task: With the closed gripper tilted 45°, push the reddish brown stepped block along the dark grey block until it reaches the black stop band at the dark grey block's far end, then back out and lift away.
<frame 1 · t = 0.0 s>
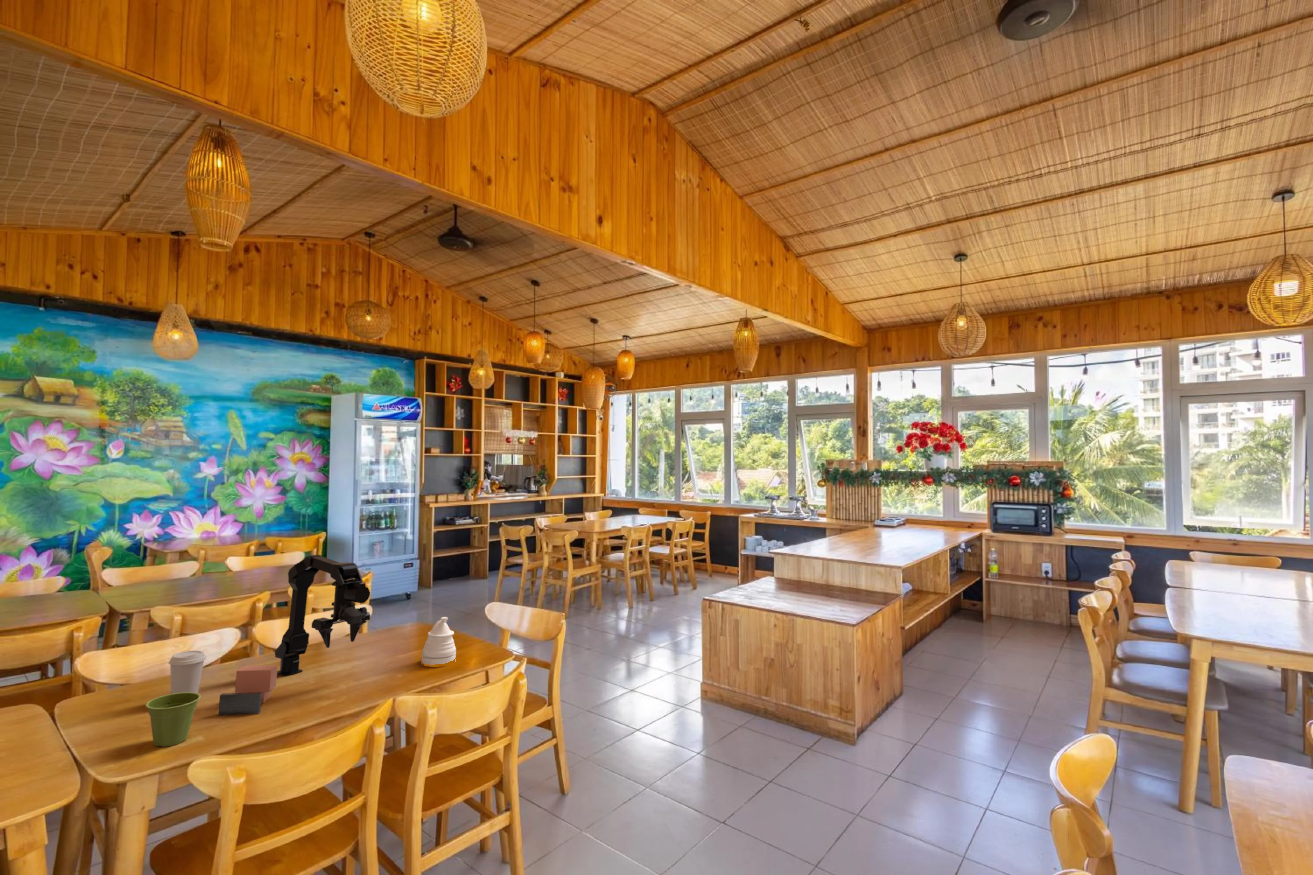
hand: (340, 644, 209), 15 cm above the table, tool pointing down, fingers open, 9 cm apart
reddish brown stepped block: (256, 683, 194), point 5 cm above the table, slide at 0.0 cm
plant pot: (170, 742, 164), on the table
honey pot: (438, 662, 240), on the table
dark grey block: (248, 706, 189), on the table
coffee cup: (183, 702, 191), on the table
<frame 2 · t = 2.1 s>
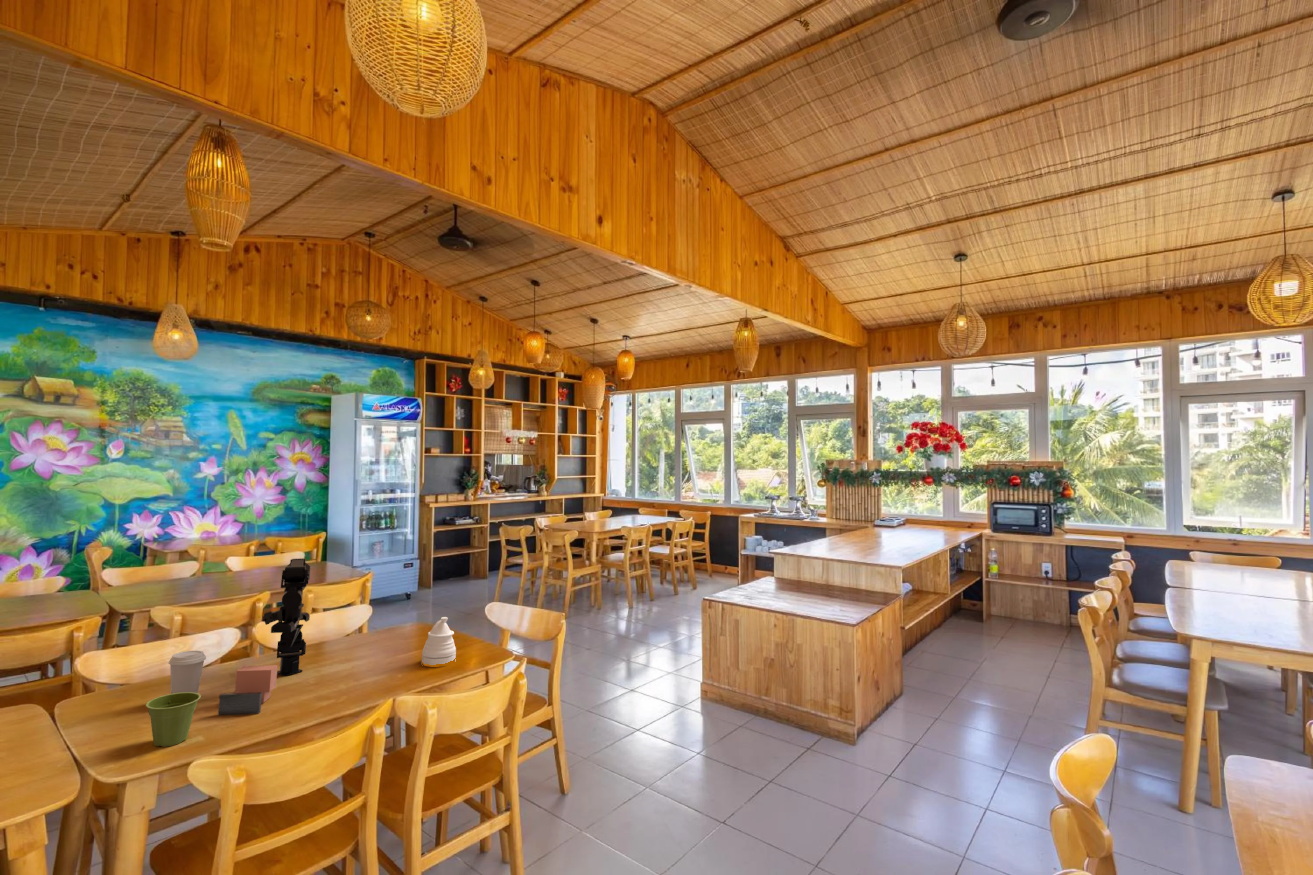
hand: (289, 647, 210), 13 cm above the table, tool pointing down, fingers closed
nothing on the table moved.
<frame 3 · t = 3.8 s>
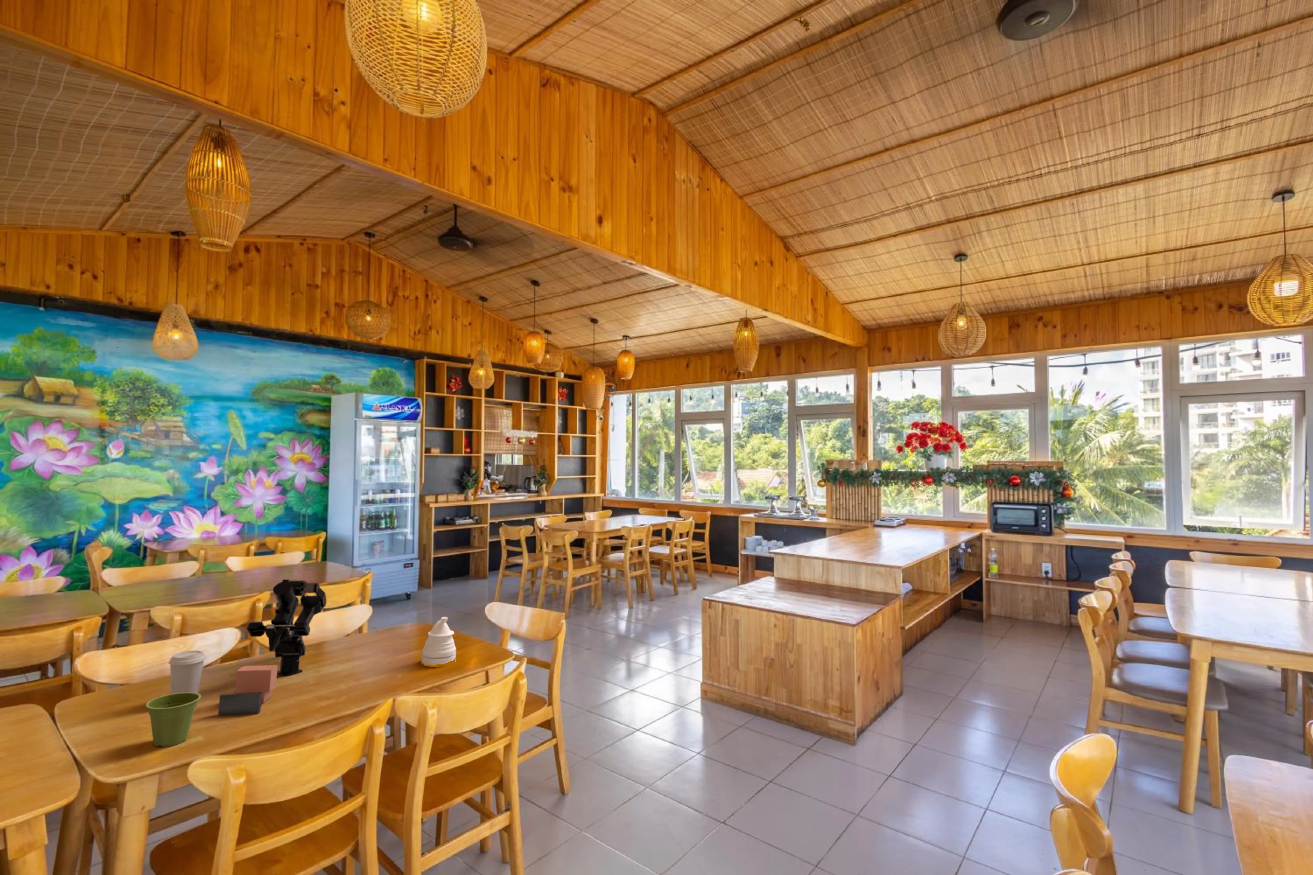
hand: (270, 650, 204), 13 cm above the table, tool tilted 45°, fingers closed
nothing on the table moved.
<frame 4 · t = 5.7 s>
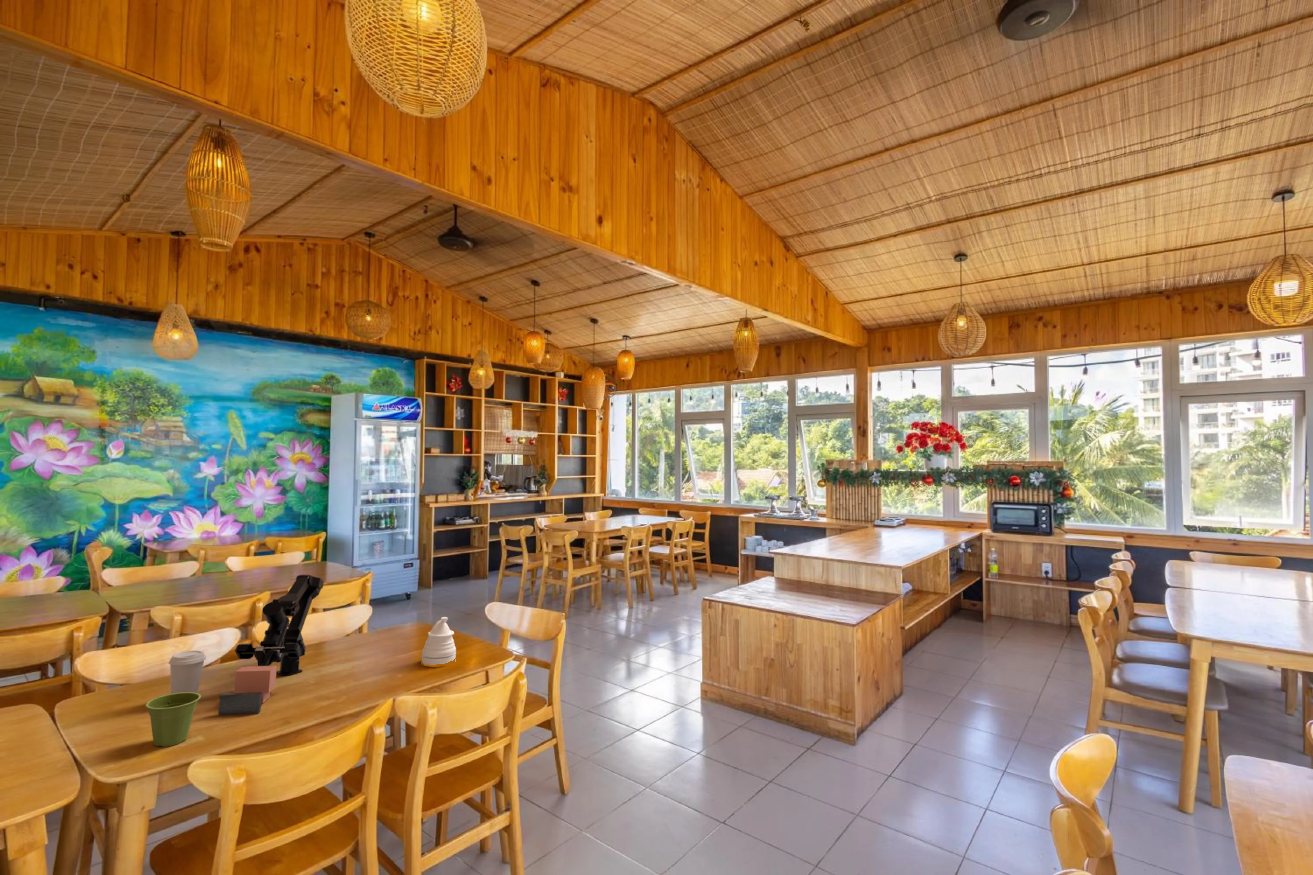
hand: (259, 674, 197), 8 cm above the table, tool tilted 45°, fingers closed, pressing on reddish brown stepped block
reddish brown stepped block: (255, 684, 194), point 5 cm above the table, slide at 0.6 cm, touching gripper
everything else where it was.
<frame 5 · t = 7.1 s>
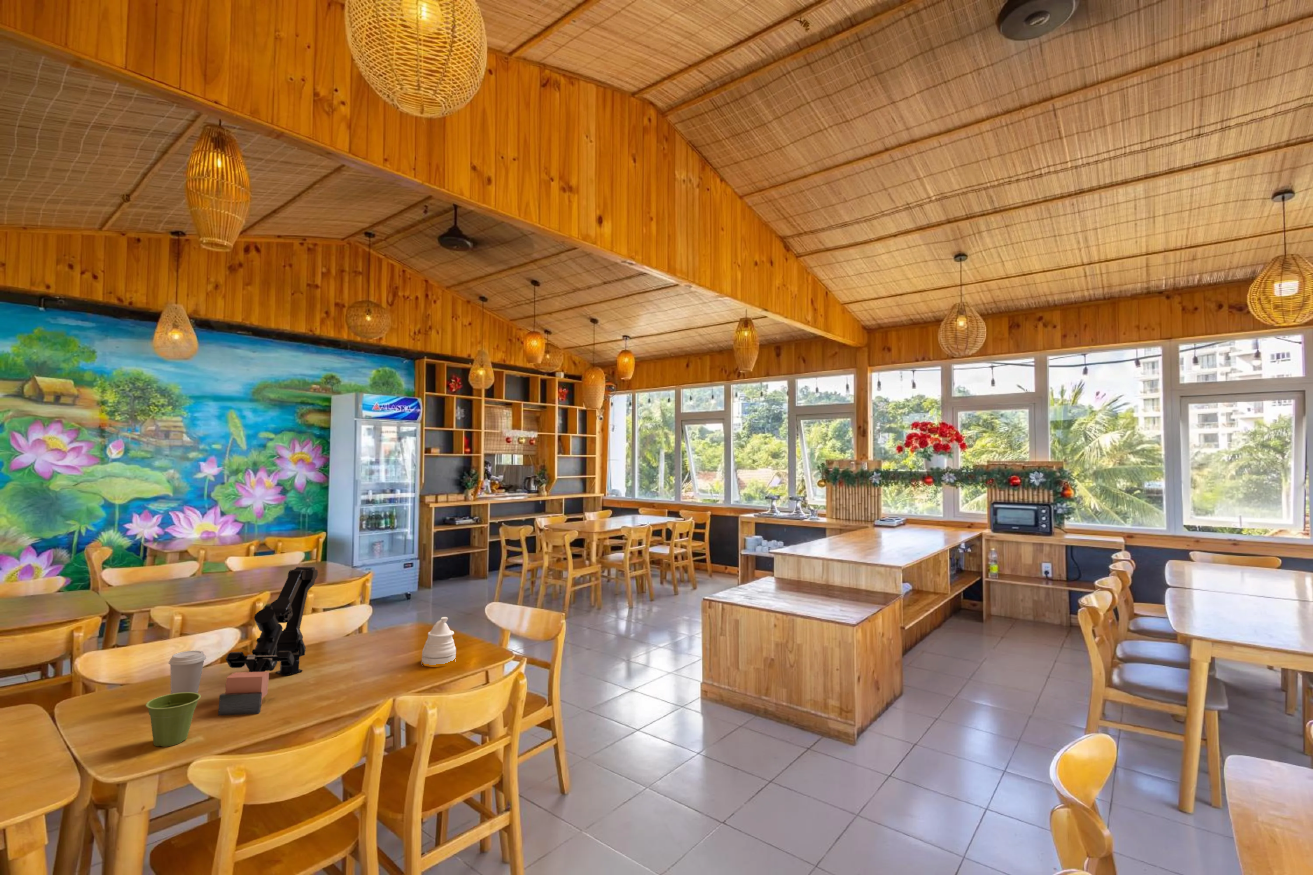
hand: (251, 683, 191), 7 cm above the table, tool tilted 45°, fingers closed, pressing on reddish brown stepped block
reddish brown stepped block: (246, 691, 188), point 5 cm above the table, slide at 6.6 cm, touching gripper
everything else where it was.
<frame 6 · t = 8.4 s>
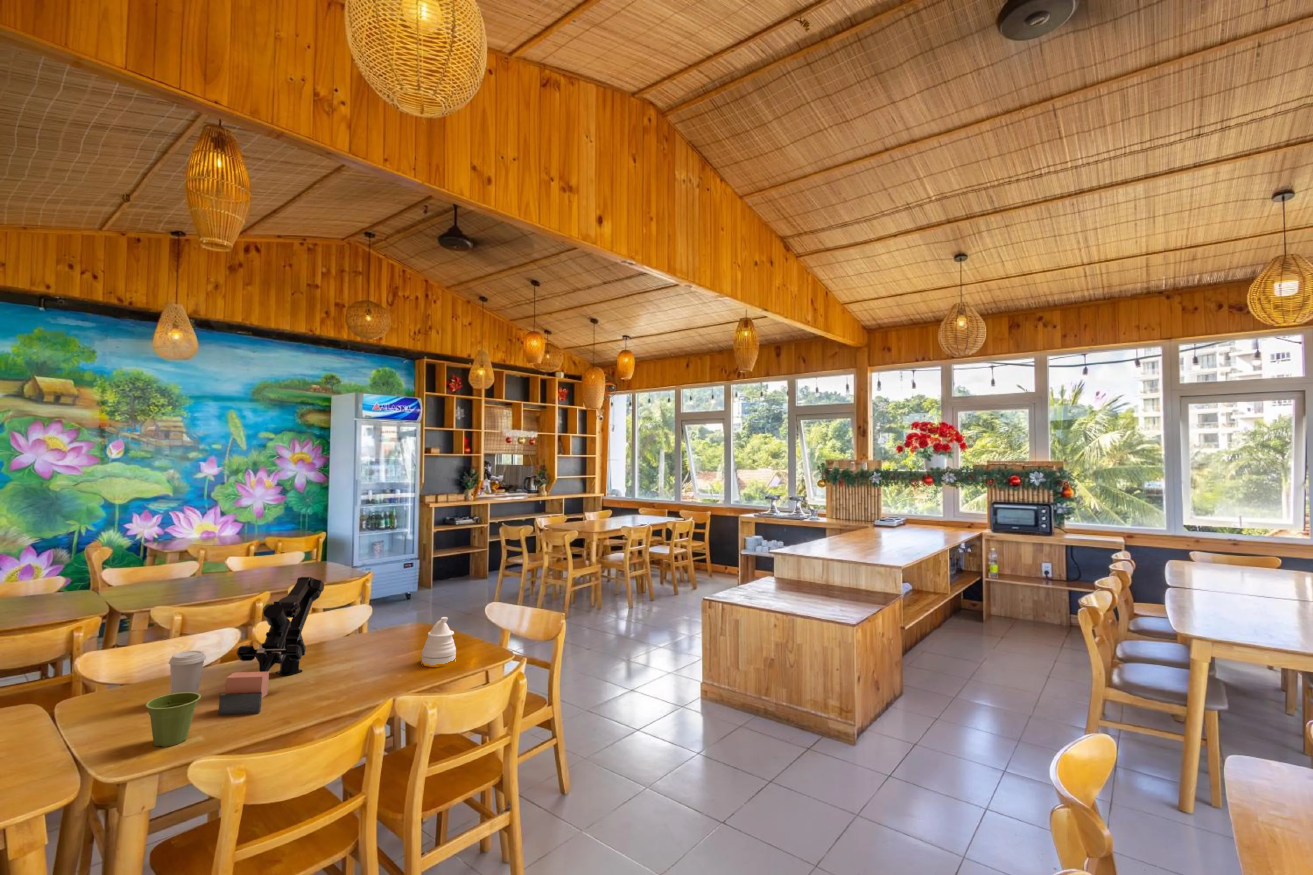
hand: (261, 676, 198), 7 cm above the table, tool tilted 45°, fingers closed
reddish brown stepped block: (246, 691, 188), point 5 cm above the table, slide at 6.6 cm
everything else where it was.
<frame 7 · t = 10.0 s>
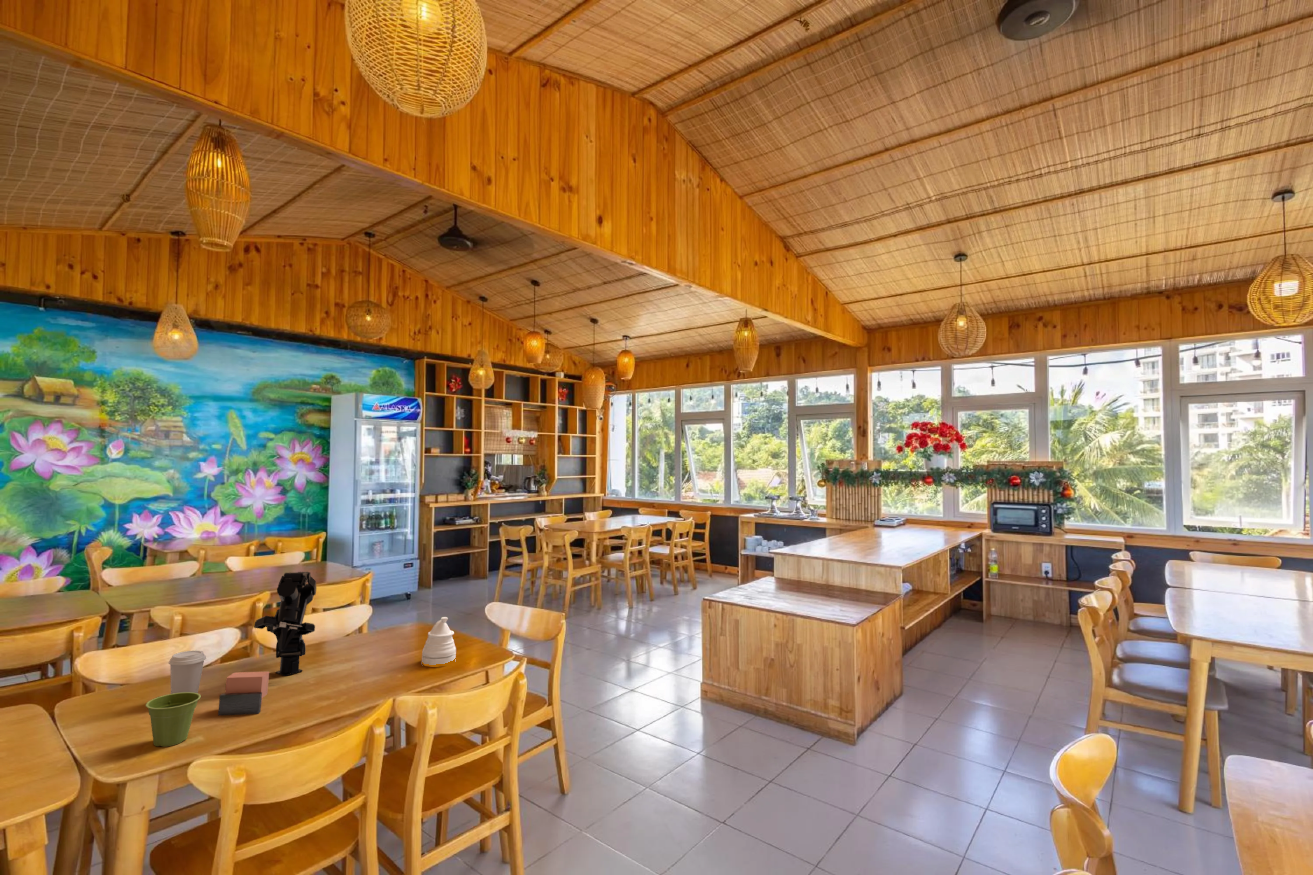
hand: (281, 650, 207), 13 cm above the table, tool tilted 30°, fingers closed
nothing on the table moved.
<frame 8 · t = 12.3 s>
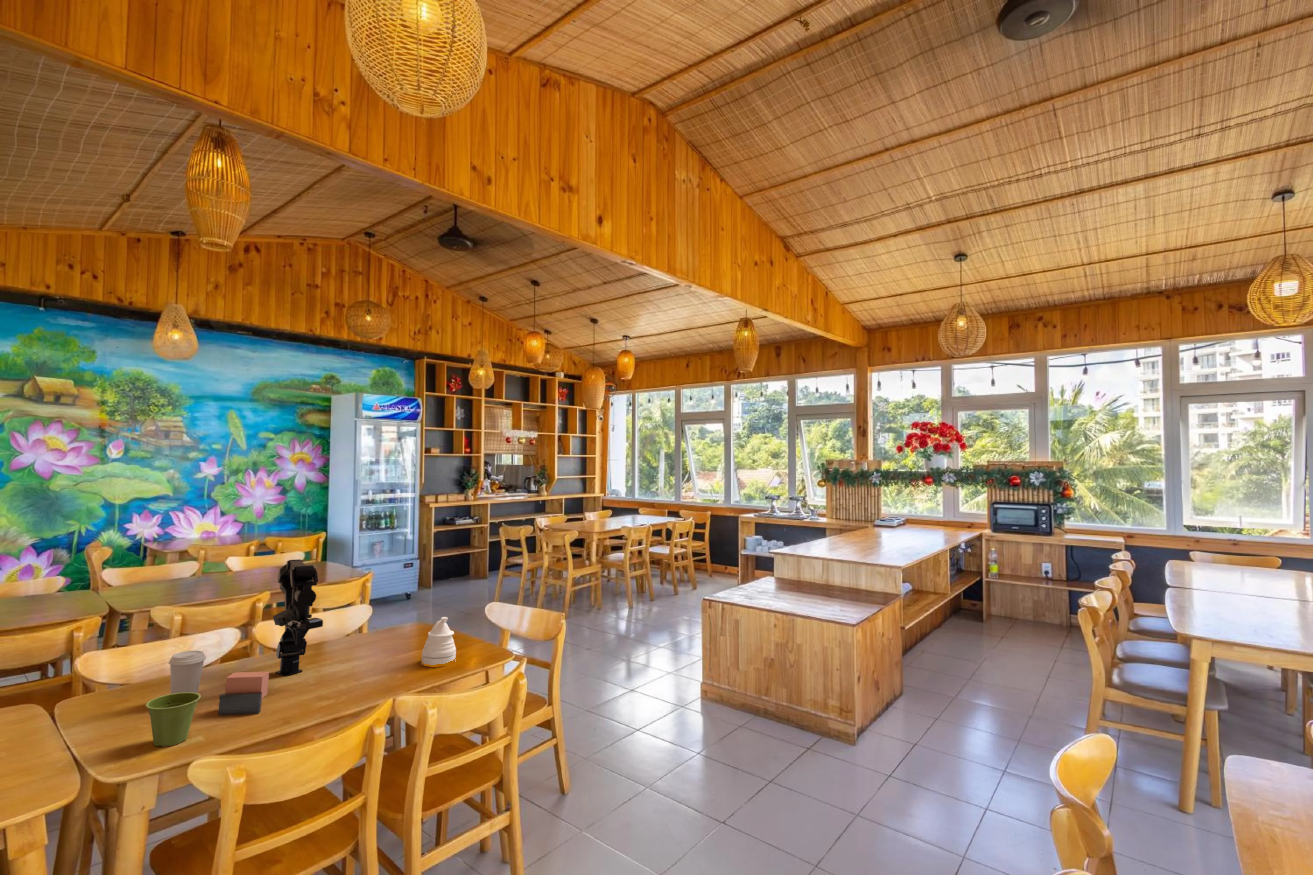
hand: (297, 645, 213), 13 cm above the table, tool pointing down, fingers closed
nothing on the table moved.
at the end: reddish brown stepped block slide at 6.6 cm; the gripper is holding nothing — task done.
